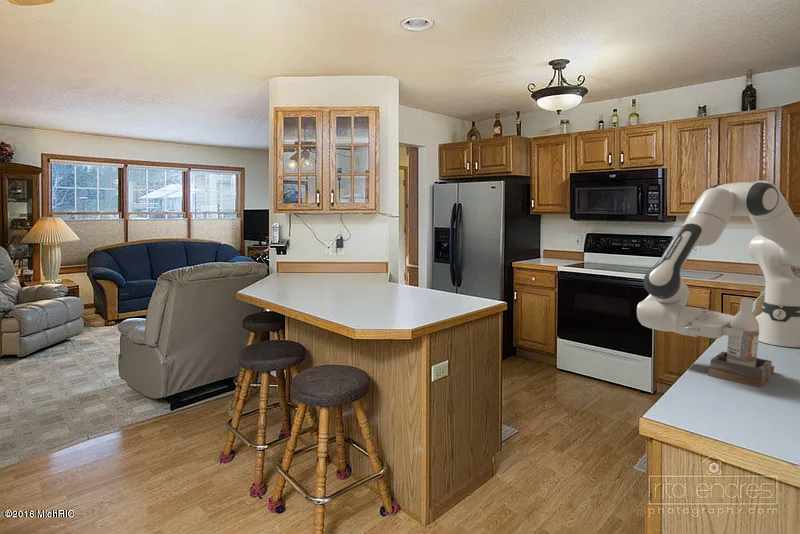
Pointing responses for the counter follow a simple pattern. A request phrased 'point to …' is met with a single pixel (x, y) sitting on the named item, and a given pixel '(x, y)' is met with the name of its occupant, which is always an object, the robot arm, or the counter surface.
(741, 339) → the bath foam
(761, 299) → the squeeze bottle
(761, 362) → the tray
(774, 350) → the counter surface
